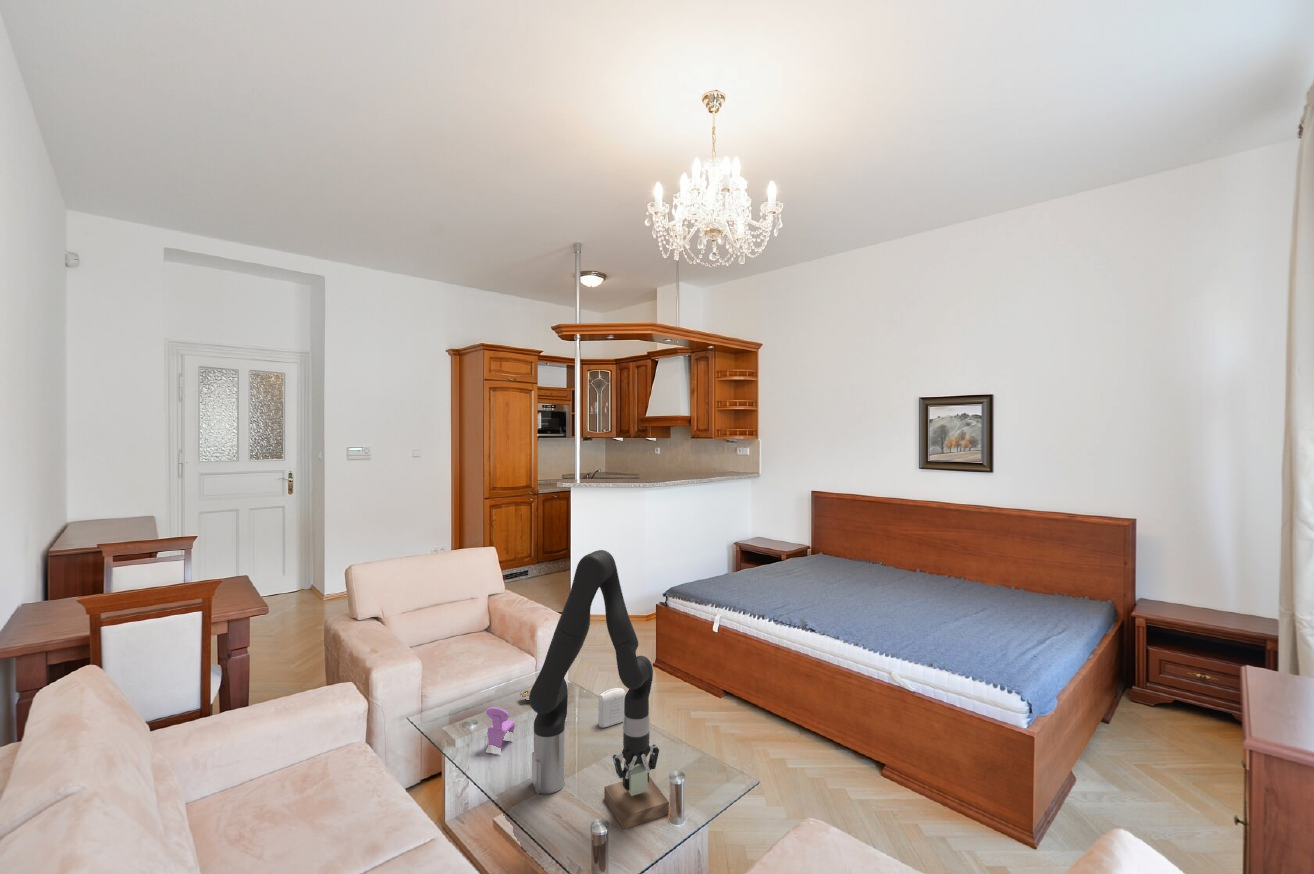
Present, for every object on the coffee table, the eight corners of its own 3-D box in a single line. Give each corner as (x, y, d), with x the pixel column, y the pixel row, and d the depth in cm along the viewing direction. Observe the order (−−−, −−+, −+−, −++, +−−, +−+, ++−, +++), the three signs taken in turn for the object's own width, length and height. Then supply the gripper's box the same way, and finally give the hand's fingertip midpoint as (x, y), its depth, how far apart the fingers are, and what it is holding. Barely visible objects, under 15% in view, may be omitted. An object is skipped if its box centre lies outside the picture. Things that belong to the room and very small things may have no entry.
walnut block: (623, 830, 160) (623, 816, 160) (604, 799, 172) (604, 786, 172) (668, 815, 166) (668, 801, 166) (647, 786, 179) (647, 773, 178)
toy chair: (518, 742, 201) (518, 699, 201) (504, 756, 193) (504, 711, 192) (496, 738, 204) (496, 695, 203) (482, 752, 195) (482, 708, 195)
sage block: (631, 795, 166) (631, 775, 165) (624, 785, 170) (624, 765, 170) (647, 791, 168) (647, 770, 168) (640, 781, 172) (640, 761, 172)
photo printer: (621, 716, 219) (621, 683, 218) (627, 721, 215) (627, 688, 215) (596, 724, 213) (596, 690, 213) (602, 729, 210) (602, 695, 209)
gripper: (617, 741, 162) (617, 801, 163) (664, 729, 168) (664, 787, 169) (608, 727, 169) (607, 785, 169) (653, 716, 175) (653, 772, 175)
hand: (636, 785), depth 169 cm, fingers closed on sage block, 5 cm apart
